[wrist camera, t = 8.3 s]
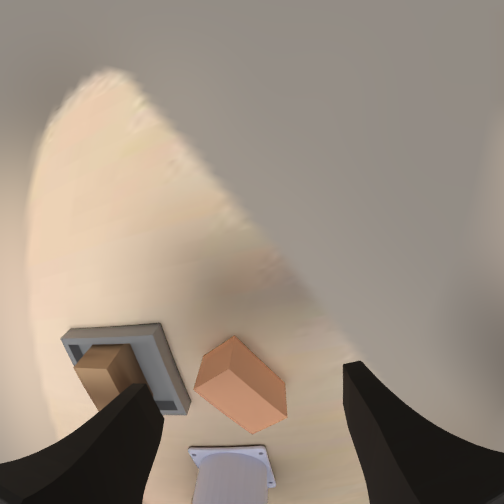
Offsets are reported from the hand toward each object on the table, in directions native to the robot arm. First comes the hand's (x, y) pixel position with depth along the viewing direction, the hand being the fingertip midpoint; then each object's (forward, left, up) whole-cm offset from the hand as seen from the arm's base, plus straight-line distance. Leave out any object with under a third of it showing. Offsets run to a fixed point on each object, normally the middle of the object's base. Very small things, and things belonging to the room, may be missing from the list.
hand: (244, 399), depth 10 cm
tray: (-6, +12, -10) cm, 17 cm away
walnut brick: (-6, +12, -10) cm, 17 cm away
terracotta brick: (-7, +2, -11) cm, 13 cm away
